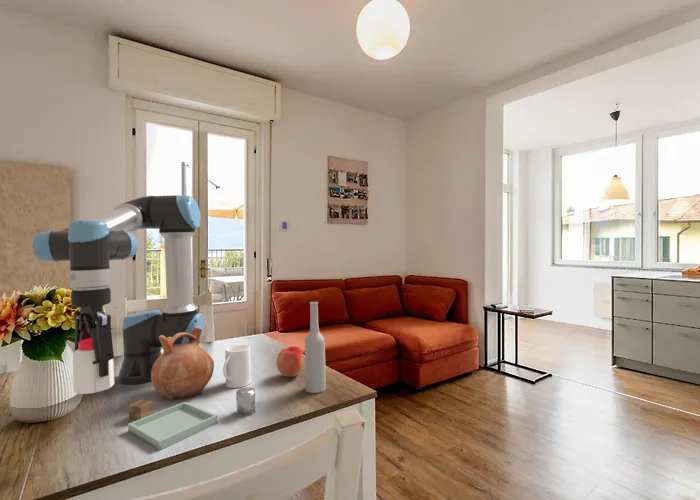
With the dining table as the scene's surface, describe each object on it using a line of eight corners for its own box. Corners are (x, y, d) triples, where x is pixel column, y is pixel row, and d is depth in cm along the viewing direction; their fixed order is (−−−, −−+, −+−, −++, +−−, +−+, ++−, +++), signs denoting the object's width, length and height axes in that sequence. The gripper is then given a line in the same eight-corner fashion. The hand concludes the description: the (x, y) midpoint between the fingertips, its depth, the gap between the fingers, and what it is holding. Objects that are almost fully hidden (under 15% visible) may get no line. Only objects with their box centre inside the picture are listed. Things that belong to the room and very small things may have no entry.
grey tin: (233, 413, 104) (232, 392, 103) (247, 406, 108) (246, 386, 107) (244, 417, 101) (244, 396, 100) (259, 410, 105) (258, 389, 105)
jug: (173, 410, 106) (171, 341, 106) (139, 397, 116) (137, 333, 115) (226, 388, 122) (224, 327, 121) (191, 378, 131) (190, 321, 131)
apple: (290, 369, 138) (290, 342, 138) (309, 374, 132) (309, 346, 132) (271, 377, 130) (270, 349, 130) (290, 383, 125) (290, 353, 124)
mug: (233, 393, 117) (232, 355, 117) (212, 389, 120) (211, 353, 120) (256, 380, 128) (256, 345, 127) (237, 377, 131) (236, 343, 131)
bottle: (317, 394, 115) (315, 304, 114) (301, 390, 118) (299, 303, 118) (330, 387, 120) (328, 301, 120) (314, 383, 124) (312, 300, 123)
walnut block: (129, 420, 101) (128, 405, 101) (141, 413, 105) (140, 399, 104) (141, 421, 100) (140, 407, 100) (152, 415, 103) (152, 400, 103)
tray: (128, 431, 94) (128, 423, 94) (185, 408, 107) (184, 401, 107) (159, 450, 86) (159, 441, 85) (217, 422, 98) (217, 415, 98)
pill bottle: (66, 391, 84) (64, 343, 83) (100, 379, 91) (98, 334, 91) (88, 396, 81) (86, 346, 81) (122, 383, 88) (120, 337, 88)
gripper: (55, 287, 88) (59, 382, 89) (90, 293, 76) (94, 402, 77) (91, 283, 94) (94, 372, 95) (129, 288, 82) (133, 390, 83)
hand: (94, 385), depth 86 cm, fingers closed on pill bottle, 8 cm apart
